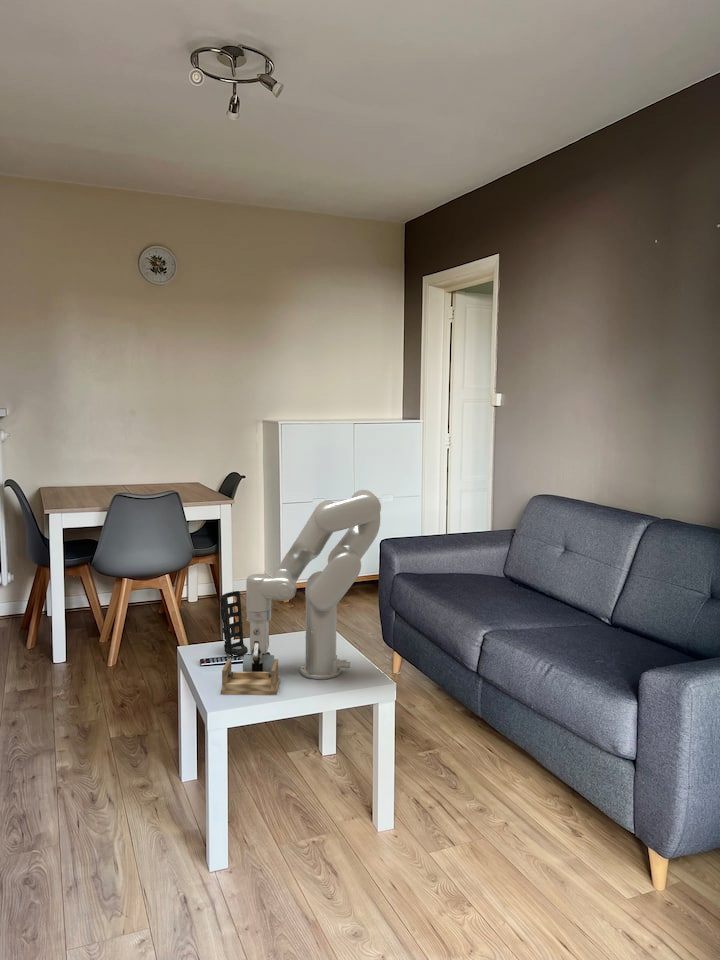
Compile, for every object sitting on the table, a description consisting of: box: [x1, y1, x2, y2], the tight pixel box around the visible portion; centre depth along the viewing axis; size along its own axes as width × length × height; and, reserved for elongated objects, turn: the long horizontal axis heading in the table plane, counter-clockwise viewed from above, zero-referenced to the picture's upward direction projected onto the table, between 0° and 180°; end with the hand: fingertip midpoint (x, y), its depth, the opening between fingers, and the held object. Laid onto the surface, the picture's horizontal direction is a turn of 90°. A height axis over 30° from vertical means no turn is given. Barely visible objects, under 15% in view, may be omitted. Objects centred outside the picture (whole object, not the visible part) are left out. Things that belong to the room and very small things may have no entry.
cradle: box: [219, 658, 281, 696], centre depth 212 cm, size 16×10×7 cm, turn 91°
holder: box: [219, 590, 248, 657], centre depth 242 cm, size 11×8×20 cm
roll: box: [242, 654, 275, 672], centre depth 223 cm, size 10×6×6 cm, turn 91°
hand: (258, 671), depth 223 cm, fingers closed on roll, 6 cm apart
